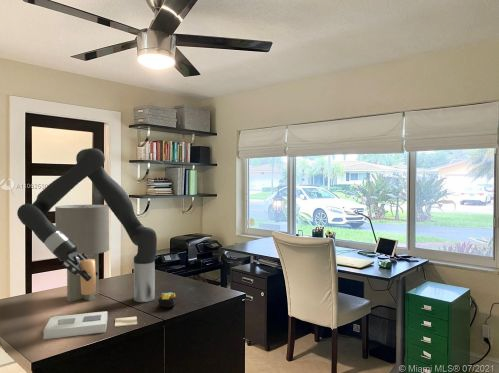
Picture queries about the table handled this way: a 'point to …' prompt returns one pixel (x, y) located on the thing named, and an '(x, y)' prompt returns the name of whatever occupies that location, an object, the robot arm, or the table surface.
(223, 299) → the table surface
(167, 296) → the pot of gold
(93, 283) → the plug
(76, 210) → the lamp
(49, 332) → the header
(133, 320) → the pad
